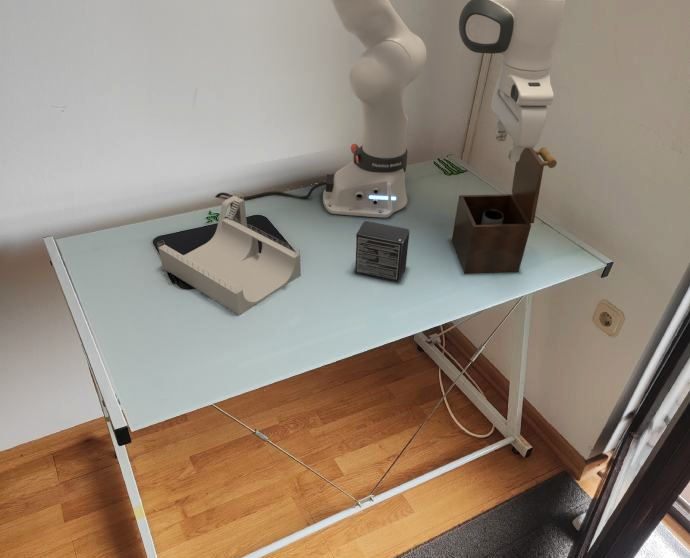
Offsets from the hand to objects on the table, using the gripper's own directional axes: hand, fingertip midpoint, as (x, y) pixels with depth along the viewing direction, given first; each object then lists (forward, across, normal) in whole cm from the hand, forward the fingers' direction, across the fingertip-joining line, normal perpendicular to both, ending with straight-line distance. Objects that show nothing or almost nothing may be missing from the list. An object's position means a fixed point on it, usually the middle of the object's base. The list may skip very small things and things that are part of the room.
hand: (506, 149), depth 119 cm
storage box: (+26, 0, 0) cm, 26 cm away
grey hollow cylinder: (+25, 0, +1) cm, 25 cm away
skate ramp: (+27, +2, -56) cm, 63 cm away
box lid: (+7, 0, +6) cm, 9 cm away
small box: (+26, +5, -25) cm, 36 cm away
